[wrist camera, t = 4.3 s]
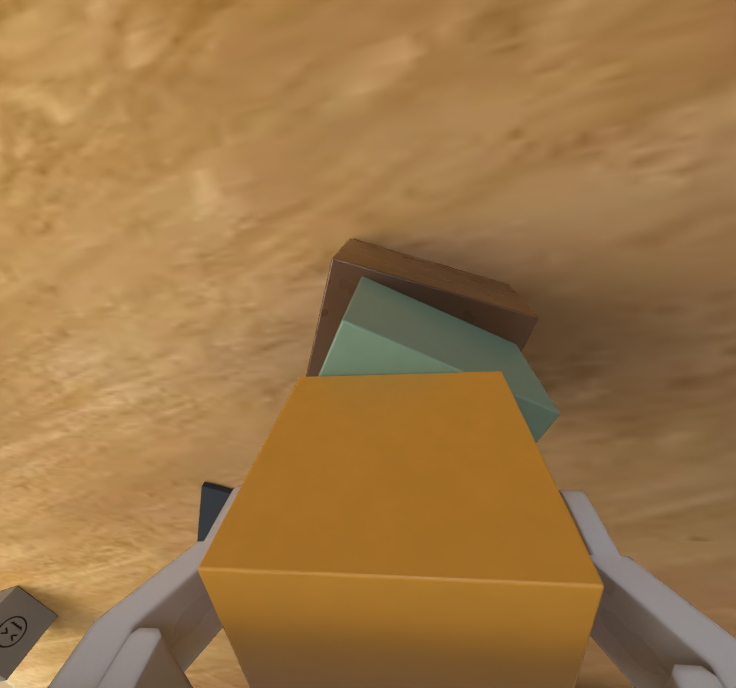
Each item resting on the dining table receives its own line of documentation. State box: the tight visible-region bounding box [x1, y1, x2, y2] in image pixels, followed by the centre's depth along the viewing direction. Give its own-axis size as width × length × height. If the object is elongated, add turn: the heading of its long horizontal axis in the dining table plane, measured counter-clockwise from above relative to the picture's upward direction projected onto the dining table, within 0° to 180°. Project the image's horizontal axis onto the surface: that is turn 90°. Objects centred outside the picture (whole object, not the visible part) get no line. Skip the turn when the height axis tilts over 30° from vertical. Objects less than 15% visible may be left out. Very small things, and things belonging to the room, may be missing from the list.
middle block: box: [318, 277, 560, 442], centre depth 13 cm, size 6×6×4 cm
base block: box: [306, 239, 539, 377], centre depth 17 cm, size 8×8×4 cm
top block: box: [198, 371, 604, 688], centre depth 8 cm, size 6×6×6 cm
